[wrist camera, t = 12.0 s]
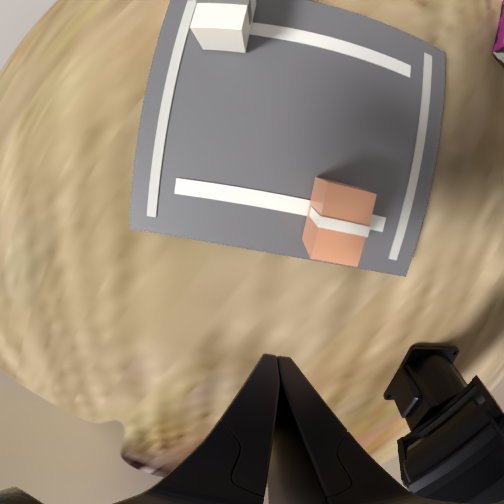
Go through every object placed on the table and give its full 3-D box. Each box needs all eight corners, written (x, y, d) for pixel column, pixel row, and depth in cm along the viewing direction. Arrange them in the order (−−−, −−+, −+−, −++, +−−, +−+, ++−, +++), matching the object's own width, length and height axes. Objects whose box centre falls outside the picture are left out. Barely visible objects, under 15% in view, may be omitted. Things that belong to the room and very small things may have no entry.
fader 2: (356, 186, 15) (378, 194, 12) (341, 246, 16) (358, 268, 13) (314, 176, 15) (327, 182, 12) (300, 239, 16) (309, 259, 13)
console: (431, 59, 13) (446, 52, 12) (394, 265, 19) (406, 277, 17) (181, 3, 13) (173, -10, 11) (141, 221, 18) (128, 229, 16)
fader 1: (257, 4, 12) (255, -24, 8) (246, 52, 13) (242, 29, 10) (214, 1, 11) (205, -26, 8) (202, 49, 13) (188, 26, 10)
